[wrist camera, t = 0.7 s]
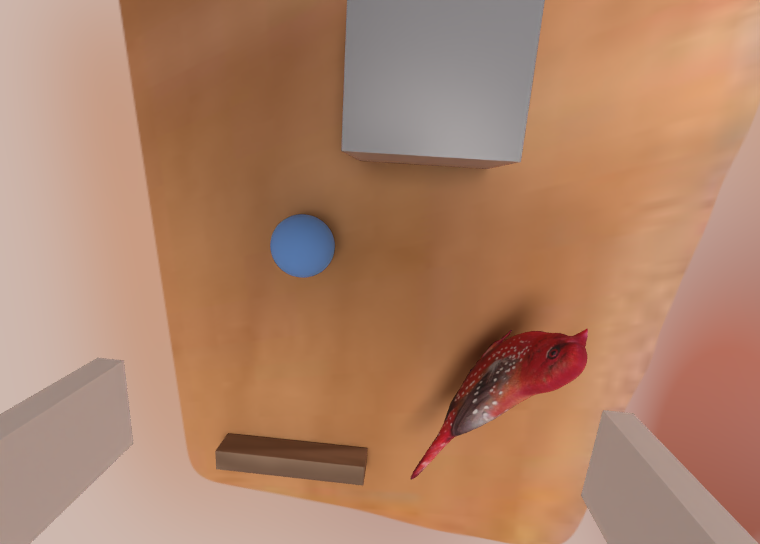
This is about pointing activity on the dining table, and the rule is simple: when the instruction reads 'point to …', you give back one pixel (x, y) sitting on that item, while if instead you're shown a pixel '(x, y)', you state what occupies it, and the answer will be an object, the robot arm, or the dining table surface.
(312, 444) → the strip
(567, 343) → the decorative bird figurine
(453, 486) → the dining table surface
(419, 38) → the gray storage cube
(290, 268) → the ball
